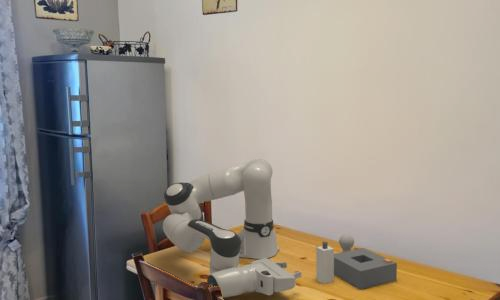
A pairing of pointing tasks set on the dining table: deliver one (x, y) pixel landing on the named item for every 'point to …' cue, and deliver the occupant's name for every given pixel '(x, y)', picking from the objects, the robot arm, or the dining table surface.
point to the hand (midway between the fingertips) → (292, 269)
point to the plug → (325, 263)
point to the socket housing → (364, 268)
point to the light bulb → (346, 242)
